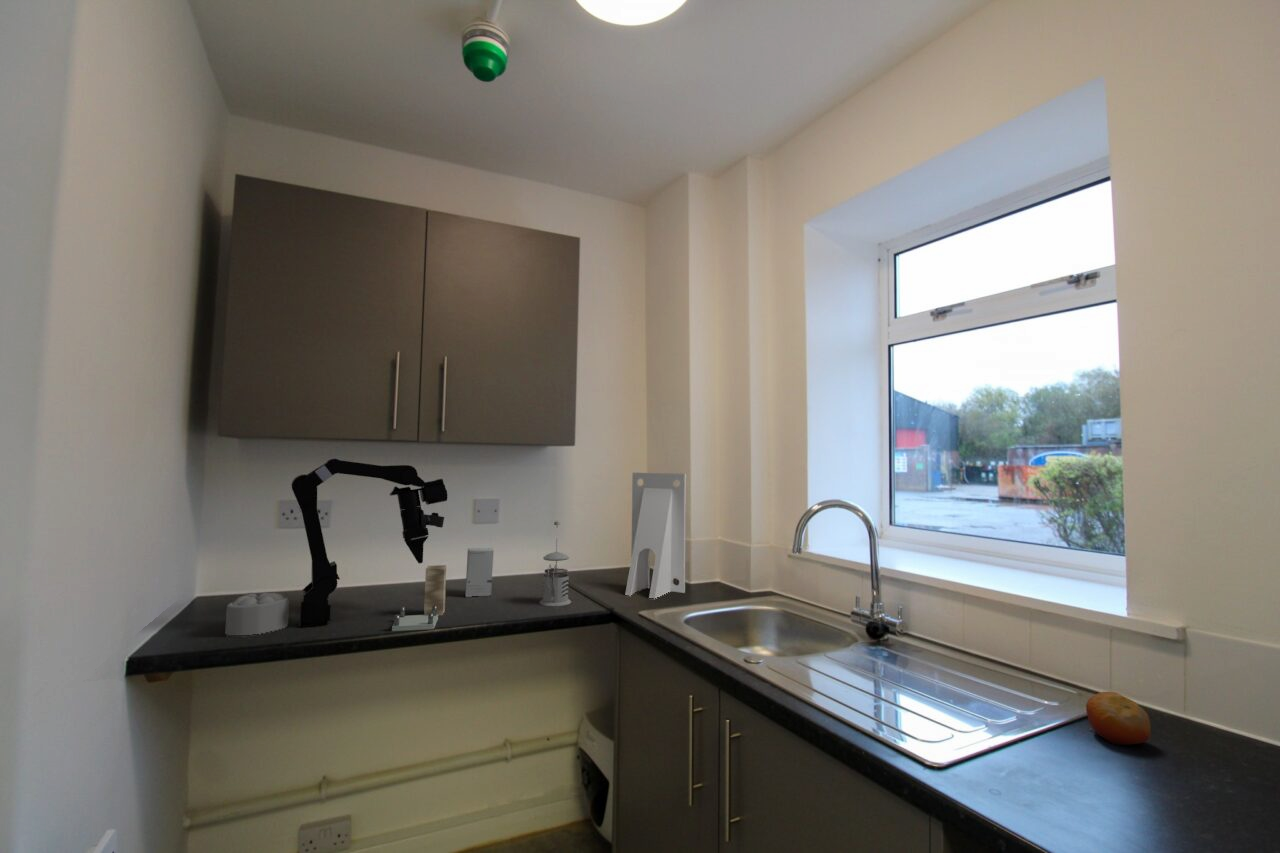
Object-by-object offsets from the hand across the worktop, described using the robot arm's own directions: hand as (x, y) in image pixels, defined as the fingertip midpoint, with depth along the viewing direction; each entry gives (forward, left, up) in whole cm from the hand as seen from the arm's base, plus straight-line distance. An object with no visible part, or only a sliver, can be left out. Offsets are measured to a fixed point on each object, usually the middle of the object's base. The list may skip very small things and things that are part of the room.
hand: (419, 562), depth 165 cm
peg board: (-2, -12, -14) cm, 19 cm away
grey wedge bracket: (+72, -4, -15) cm, 74 cm away
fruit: (+92, -127, -15) cm, 158 cm away
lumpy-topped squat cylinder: (-39, 0, -15) cm, 41 cm away
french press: (+39, -4, -15) cm, 42 cm away
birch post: (+4, -2, -14) cm, 15 cm away
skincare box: (+20, +16, -15) cm, 30 cm away
